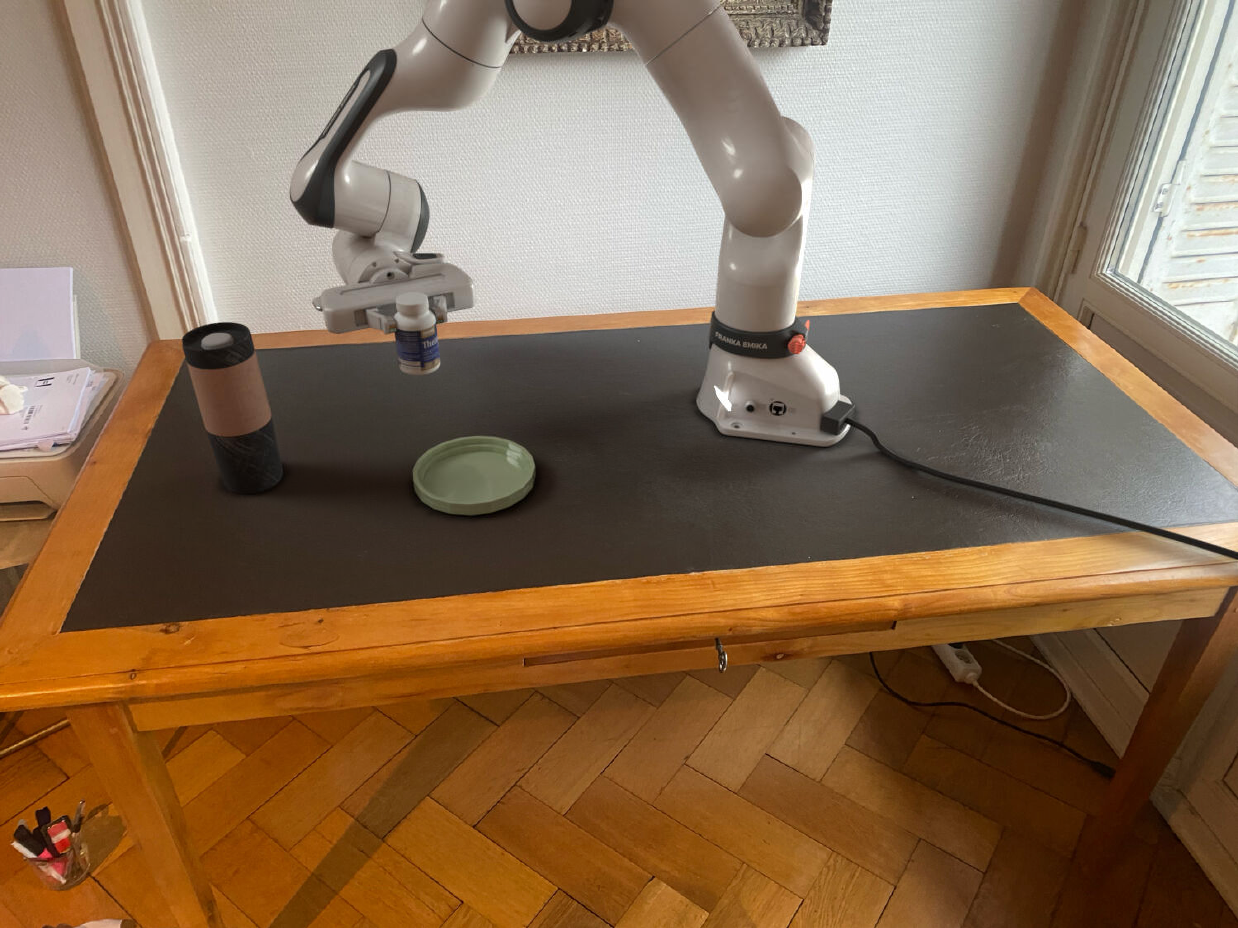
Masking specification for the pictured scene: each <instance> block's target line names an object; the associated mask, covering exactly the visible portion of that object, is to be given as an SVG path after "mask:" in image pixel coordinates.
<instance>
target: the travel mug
mask: <svg viewBox="0 0 1238 928" xmlns="http://www.w3.org/2000/svg"><path fill="white" fill-rule="evenodd" d="M181 344H182V351H183V354H184V357H185V361H186V366H187V369H188V373H189V376H190V379H191V383H192V387H193V390H194V393H195V397H196V400H197V403H198V404H197V405H198V408H199V412H200V414H201V418H202V422H203V425H204V428H205V431H206V435H207V437H208V440H209V443H210V446H211V450H212V453H213V456H214V458H215V461H216V464H217V467H218V470H219V473H220V476H221V479H222V482H223V484H224V486H225V488H226V489H227V490H228V491H230V492H231V493H234V494H240V495H252V494H257V493H261V492H264V491H267V490H269V489H272V488H273V487H274V486H276V485H277V484H279V483H280V481H281V480H282V478H283V474H284V472H283V464H282V460H281V454H280V450H279V445H278V440H277V435H276V431H275V425H274V421H273V416H272V411H271V407H270V403H269V399H268V395H267V391H266V387H265V383H264V379H263V375H262V372H261V367H260V363H259V359H258V355H257V353H256V352H257V351H256V348H255V345H254V341H253V336H252V334H251V330H250V329H249V327H248V326H246V325H244V324H242V323H239V322H233V321H219V322H213V323H208V324H203V325H200V326H197V327H194V328H193V329H191V330H189V331H187V332H186V333H185V334H183V336H182V338H181Z"/></svg>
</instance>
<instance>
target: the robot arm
mask: <svg viewBox="0 0 1238 928" xmlns="http://www.w3.org/2000/svg"><path fill="white" fill-rule="evenodd" d="M607 26H608V27H611V28H613V29H615V30H617V31H618V32H619V33H620V34H621V35H623V37H624V38H625V39H626V40H627V41H628V42H629V44H630V45H631V47H632V48H633V50H634V51H635V53H636V54H637V56H638V58H639V59H640V61H641V62H642V64H643V65H644V67H645V69H646V70H647V72H648V73H649V75H650V76H651V78H652V79H653V81H654V82H655V84H656V86H657V87H658V89H659V90H660V92H661V93H662V95H663V96H664V98H665V99H666V101H667V102H668V104H669V105H670V107H671V108H672V110H673V112H674V113H675V115H676V117H677V118H678V119H679V121H680V123H681V125H682V127H683V128H684V130H685V133H686V135H687V137H688V138H689V141H690V143H691V145H692V148H693V150H694V152H695V154H696V156H697V159H698V160H699V162H700V164H701V166H702V168H703V170H704V173H705V174H706V176H707V178H708V180H709V182H710V184H711V186H712V188H713V189H714V192H715V193H716V195H717V197H718V199H719V202H720V205H721V207H722V210H723V212H724V219H723V227H722V233H721V234H722V235H721V242H720V247H719V254H718V263H717V277H716V290H715V301H714V310H713V311H711V316H710V320H709V327H708V328H709V329H708V349H709V355H708V361H707V365H706V369H705V373H704V377H703V380H702V383H701V386H700V388H699V390H698V391H699V392H698V394H697V396H696V406H697V407H698V409H699V411H700V412H701V413H702V414H703V415H704V416H705V417H706V418H708V419H709V420H711V422H713V423H714V424H715V426H716V428H717V430H718V431H719V433H721V434H723V435H726V436H731V437H741V438H749V439H757V440H765V441H773V442H781V443H789V444H790V443H791V444H797V445H805V446H806V445H807V446H815V447H825V448H826V447H830V446H832V445H835V444H837V443H838V442H840V441H841V440H842V439H844V438H845V436H846V435H847V434H848V432H849V431H850V428H851V427H852V428H854V429H856V430H859V431H861V432H862V433H864V434H865V435H867V436H868V437H869V439H870V440H872V441H871V442H872V444H873V445H874V447H875V448H876V449H877V450H879V452H881V453H882V454H884V455H885V456H887V457H888V458H890V459H892V460H894V461H896V462H898V463H899V464H901V465H903V466H906V467H909V468H912V469H915V470H918V471H921V472H922V473H926V474H929V475H931V476H934V477H937V478H940V479H944V480H946V481H950V482H953V483H956V484H957V483H958V484H961V485H965V486H968V487H969V486H970V487H973V488H976V489H977V488H978V489H981V490H986V491H989V492H993V493H997V494H1001V495H1005V496H1007V497H1012V498H1016V499H1020V500H1023V501H1026V502H1032V503H1035V504H1039V505H1043V506H1046V507H1050V508H1055V509H1057V510H1061V511H1065V512H1070V513H1074V514H1078V515H1082V516H1085V517H1089V518H1092V519H1096V520H1100V521H1103V522H1108V523H1112V524H1115V525H1119V526H1123V527H1127V528H1130V529H1133V530H1137V531H1141V532H1144V533H1148V534H1151V535H1155V536H1158V537H1162V538H1165V539H1169V540H1171V541H1172V540H1173V541H1175V542H1179V543H1182V544H1185V545H1189V546H1192V547H1196V548H1198V549H1202V550H1205V551H1209V552H1212V553H1215V554H1218V555H1221V556H1224V557H1227V558H1231V559H1234V560H1235V561H1236V560H1237V561H1238V551H1236V550H1233V549H1230V548H1226V547H1223V546H1221V545H1217V544H1213V543H1211V542H1208V541H1203V540H1202V539H1198V538H1194V537H1191V536H1187V535H1184V534H1181V533H1177V532H1174V531H1171V530H1167V529H1164V528H1161V527H1156V526H1153V525H1149V524H1146V523H1141V522H1138V521H1135V520H1131V519H1127V518H1124V517H1120V516H1116V515H1112V514H1108V513H1104V512H1102V511H1098V510H1094V509H1089V508H1085V507H1082V506H1079V505H1074V504H1070V503H1067V502H1063V501H1059V500H1055V499H1051V498H1048V497H1043V496H1040V495H1035V494H1031V493H1028V492H1023V491H1020V490H1016V489H1012V488H1008V487H1004V486H1000V485H996V484H992V483H989V482H985V481H981V480H978V479H973V478H969V477H964V476H960V475H956V474H953V473H950V472H946V471H943V470H940V469H937V468H934V467H931V466H929V465H925V464H923V463H920V462H917V461H914V460H911V459H908V458H906V457H903V456H901V455H899V454H897V453H895V452H893V450H891V449H889V448H888V447H887V446H886V445H884V444H883V443H882V442H881V440H880V438H879V436H878V434H877V433H876V432H875V431H874V430H873V429H871V428H870V427H869V426H867V425H866V424H863V423H861V422H860V421H858V420H856V419H855V420H854V419H853V418H854V413H855V407H856V405H855V404H852V402H851V400H850V399H849V398H848V397H847V396H845V395H843V394H841V387H840V380H839V376H838V372H837V371H836V369H835V368H834V367H833V366H832V365H831V364H830V363H828V362H827V361H826V359H824V358H822V356H820V354H818V353H817V352H816V351H815V350H813V348H811V346H809V345H808V344H807V343H808V337H809V329H810V319H807V321H806V322H805V323H803V322H802V320H801V319H799V318H798V316H797V306H798V299H799V292H800V284H801V275H802V269H803V262H804V254H805V246H806V238H807V231H808V223H809V216H810V215H809V214H810V209H811V208H810V207H811V200H812V193H813V185H814V178H815V171H816V163H817V155H816V154H817V153H816V146H815V144H814V141H813V139H812V137H811V135H810V134H809V132H808V131H807V129H806V128H805V127H804V126H802V125H801V124H800V123H799V122H797V121H796V120H795V119H793V118H791V117H788V116H783V115H782V114H781V112H780V110H779V108H778V106H777V105H776V102H775V99H774V97H773V95H772V94H771V92H770V90H769V88H768V85H767V83H766V80H765V78H764V76H763V74H762V72H761V68H760V66H759V64H758V62H757V60H756V59H755V58H754V56H753V54H752V53H751V52H752V51H750V49H749V47H748V45H747V44H746V42H745V41H744V39H743V38H742V36H741V34H740V33H739V30H738V29H737V28H736V26H735V24H734V23H733V21H732V19H731V18H730V16H729V14H728V12H727V11H726V10H725V7H724V6H723V5H722V3H721V1H720V0H429V1H428V3H427V5H426V7H425V9H424V11H423V14H422V16H421V19H420V20H419V22H418V24H417V26H416V27H415V28H414V30H413V31H411V33H410V34H409V35H407V37H406V38H404V40H401V42H399V43H397V45H395V46H394V47H392V48H385V49H380V50H379V51H377V52H376V53H375V54H374V55H373V56H372V57H371V58H370V60H369V61H368V62H367V63H366V65H365V66H364V67H363V68H362V70H361V71H360V73H359V74H358V76H357V77H356V79H355V81H354V82H353V84H352V85H351V86H350V88H349V90H348V91H347V93H346V94H345V96H344V97H343V99H342V100H341V102H340V103H339V105H338V107H337V108H336V110H335V112H334V113H333V114H332V116H331V118H330V119H329V120H328V122H327V123H326V126H325V127H324V129H323V130H322V131H321V134H320V135H319V136H318V138H317V139H316V140H315V142H314V143H313V144H312V145H311V146H310V148H309V149H308V150H307V151H305V153H304V154H303V155H302V157H301V158H300V160H299V161H298V162H297V164H296V166H295V168H294V170H293V173H292V176H291V180H290V186H289V200H290V202H291V204H292V206H293V207H294V210H296V212H297V213H298V215H299V216H300V217H301V218H302V219H303V220H304V222H305V223H306V224H308V226H315V227H321V228H325V229H330V230H334V229H335V230H338V231H337V232H336V234H335V235H334V237H333V240H332V244H331V256H332V259H333V265H334V267H335V269H336V272H337V273H338V276H339V277H340V278H341V280H342V281H343V283H344V284H345V285H340V286H335V287H334V286H333V287H329V288H326V289H324V290H323V291H322V292H321V293H320V295H319V296H317V297H313V298H312V302H311V303H312V305H313V307H314V308H315V310H316V311H318V312H322V315H323V321H324V324H325V327H326V329H327V332H329V333H330V334H334V335H340V334H346V333H352V332H357V331H361V330H365V329H374V330H377V331H382V332H383V333H384V335H390V334H395V332H397V328H396V322H395V319H394V316H395V314H396V313H397V312H398V311H397V308H396V298H397V297H398V296H399V295H401V294H404V293H410V292H418V293H423V294H425V295H426V296H427V297H428V304H429V310H430V311H432V312H433V313H434V315H435V318H436V325H440V324H444V323H445V324H446V323H448V321H449V320H448V313H452V312H458V311H463V310H468V309H472V308H474V306H475V305H476V303H477V291H476V284H475V281H474V280H473V278H472V277H471V276H470V275H469V274H468V273H466V272H465V271H464V270H463V269H462V268H461V267H459V266H458V265H456V264H453V263H449V262H447V258H446V255H444V254H443V253H440V252H418V250H420V248H421V246H422V244H423V242H424V240H425V238H426V235H427V232H428V229H429V224H430V218H431V217H430V215H431V214H430V211H431V210H430V205H429V203H428V199H427V197H426V193H425V191H424V189H423V187H422V185H421V184H420V182H418V180H417V179H415V178H412V177H409V176H406V175H403V174H400V173H398V172H394V171H391V170H388V169H385V168H384V169H383V168H380V167H376V166H374V165H371V164H367V163H364V162H362V161H358V160H355V159H354V158H355V157H356V156H357V154H358V152H359V151H360V149H361V148H362V147H363V145H364V143H365V142H366V141H367V139H368V138H369V136H370V135H371V133H372V131H373V130H374V129H375V127H376V126H377V125H378V123H379V122H381V121H382V120H384V119H385V118H387V117H390V116H393V115H396V114H401V113H409V112H439V113H441V112H442V113H446V112H450V113H451V112H455V111H462V110H464V109H467V108H470V107H472V106H473V105H476V104H478V103H479V102H480V101H482V99H484V98H485V96H486V95H487V94H488V93H489V91H490V90H491V89H492V87H493V85H494V83H495V82H496V80H497V78H498V76H499V74H500V72H501V70H502V68H503V65H504V63H505V62H506V59H507V57H508V55H509V53H510V51H511V49H512V47H513V45H514V43H515V42H516V41H517V39H518V37H519V36H520V35H521V34H523V35H524V36H526V37H528V38H529V39H531V40H533V41H536V42H539V43H544V44H547V45H551V44H552V45H556V44H558V45H559V44H564V43H569V42H572V41H575V40H576V39H579V38H581V37H584V36H586V35H589V34H592V33H595V32H597V31H599V30H602V29H604V28H605V27H607Z"/></svg>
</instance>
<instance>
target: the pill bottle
mask: <svg viewBox="0 0 1238 928" xmlns="http://www.w3.org/2000/svg"><path fill="white" fill-rule="evenodd" d="M396 308H397V311H398V312H397V313H396V314H395V316H394V319H395V322H396V328H397V332H395V333H394V340H395V347H396V354H397V361H398V367H399V369H400V371H402V372H403V373H405V374H407V375H410V376H425V375H428V374H431V373H434V372H436V371H437V370H438V369H439V368H440V366H441V357H440V356H441V355H440V346H439V336H438V335H439V334H438V327H437V324H436V318H435V315H434V313H433V312H432V311H430V310H429V304H428V297H427V296H426V295H425V294H423V293H418V292H410V293H404V294H401V295H399V296H398V297H397V298H396Z"/></svg>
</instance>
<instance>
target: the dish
mask: <svg viewBox="0 0 1238 928" xmlns="http://www.w3.org/2000/svg"><path fill="white" fill-rule="evenodd" d="M536 477H537V476H536V464H535V462H534V457H533V455H532V454H531V453H530V451H529V450H527V449H526V448H525V447H524V446H522V445H520V444H518V443H517V442H515V441H513V440H510V439H506V438H502V437H498V436H489V435H474V436H464V437H458V438H454V439H451V440H447V441H444V442H441V443H439V444H437V445H435V446H433V447H431V448H430V449H427V451H426V452H424V453H423V454H422V455H421V456H419V458H418V459H417V460H416V462H415V464H414V466H413V468H412V481H413V482H412V483H413V488H414V489H413V490H414V493H415V494H416V495H417V496H418V498H419V500H420V502H422V503H424V504H425V505H427V506H428V507H430V508H432V509H433V510H437V511H438V512H442V513H445V514H450V515H462V516H478V515H484V514H491V513H495V512H498V511H500V510H504V509H507V508H509V507H511V506H513V505H514V504H516V503H518V502H519V501H520V502H521V500H523V499H524V498H525V497H526V496H528V494H529V492H531V490H532V489H533V487H534V483H535V480H536Z"/></svg>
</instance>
